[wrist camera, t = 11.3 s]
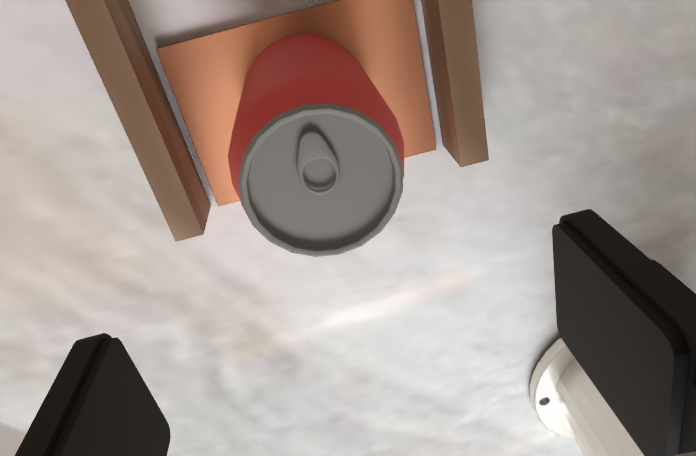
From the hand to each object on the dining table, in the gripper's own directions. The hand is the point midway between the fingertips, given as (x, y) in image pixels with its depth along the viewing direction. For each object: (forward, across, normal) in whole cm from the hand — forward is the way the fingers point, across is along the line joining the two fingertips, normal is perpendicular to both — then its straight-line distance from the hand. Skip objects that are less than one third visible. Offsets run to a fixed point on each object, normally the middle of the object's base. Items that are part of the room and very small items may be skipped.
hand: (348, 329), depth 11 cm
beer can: (+20, 0, 0) cm, 20 cm away
